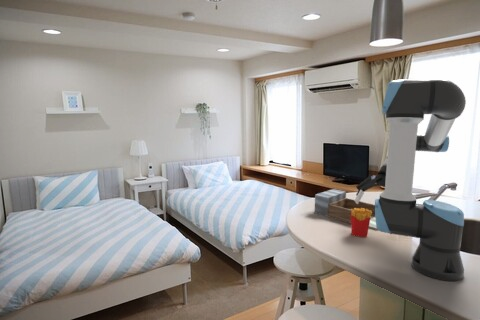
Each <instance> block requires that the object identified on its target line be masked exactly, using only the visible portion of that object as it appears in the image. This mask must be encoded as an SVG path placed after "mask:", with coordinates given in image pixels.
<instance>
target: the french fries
mask: <svg viewBox="0 0 480 320" xmlns="http://www.w3.org/2000/svg"><path fill="white" fill-rule="evenodd" d="M371 214H372V211H371V210H367V209H366V212H365V208H361V209H359V208H357V209H356V208H354V211H353V209H351V223H350V227H351V228H350V229H351V236H354V237H358V236H359V237H360V238H367V237H368V234H369V233H368V232H369V229H370V228H369V223H370V218H371V217H370V216H371Z"/></svg>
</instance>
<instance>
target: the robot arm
mask: <svg viewBox="0 0 480 320" xmlns="http://www.w3.org/2000/svg"><path fill="white" fill-rule="evenodd" d="M382 104H383V105H382V109H381V114H383V115H385V120H386V121H387V122H388V123H389V132H388V133H389V134H388V147H387V155H386V157H385V159H384V161H383V162H382V164H381V167H379V170H378V172H377V174H376V175H374V174H373V173H370V174H369V175H368V177H366V178H364V180H363V181H361V182H360V183H359V184H357V185H356V186H355V187H356V189H357V192H356V196H355V199H353V200H354V201H355V203H356V204H358V203H359V201H361V199H362V198H363V196H364V194H365V193H364V192H366V191H368V190H370V189H372V188H374V187H378V186H379V187H382V188H384V190H383V192H381V193H380V194H379V198H376V199H375V200H374V205H375V218H376V227H377V229H378V230H377V231H378V232H381V233H385V234H386V233H387V234H389V235H397V236H403V237H409V238H417V239H419V244H418V246H417V247H416V250H415V251H414V254H413V255H412V257H411V266H412V267H413V269H415V271H416V272H418V273H420V274H423V275H425V276H427V277H429V278H432V279H435V280H439V281H440V280H441V281H446V282H447V281H448V282H449V281H450V282H454V281H455V282H456V281H460V280H462V279H463V278H464V275H465V266H464V263H463V260H462V256H461V252H460V251H461V246H462V238H463V231H464V230H463V229H464V226H465V214H464V211H463V210H462V209H460V208H459V207H458V206H455V205H454V204H451V203H448V202H442V201H439V200H435V199H426V200H424V201H423V202H422V203H421V204H419V203H417V198H416V197H415V195H414V194H413V187H414V186H413V183H414V172H415V163H416V161H415V160H416V152H430V153H446V152H447V151H448V150H449V146H450V137H449V133H450V131H451V128H452V127H453V125H454V123H455V120H456V119H458V118H459V117H460V116H461V115H462V114H463V112H464V110H465V108H466V104H467V101H466V96H465V94H464V91H462V89H461V88H460V86H458V85H457V84H456V83H454V82H453V81H450V80H448V79H446V78H439V77H438V78H416V79H415V78H414V79H413V78H411V79H410V78H409V79H408V78H407V79H406V78H403V79H397V80H396V79H395V80H391V81H390V82H388V83H387V87H386V90H385V95H384V100H383V103H382ZM425 115H430V118H429V121H428V125H427V127H426V129H425V130H426V131H425V133H418V127H419V124H421V123H422V121H424V117H425Z"/></svg>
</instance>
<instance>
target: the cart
mask: <svg viewBox="0 0 480 320" xmlns="http://www.w3.org/2000/svg"><path fill="white" fill-rule="evenodd" d="M354 200H355V199H351V198H347V191H344V190H339V189H334V188H332V189H329V190H325V191H323V192H318V193H316V194H315V196H314V213H315V214H318V215H321V216H324V217H325V216H326V217H328V218H332V219H334V220H335V219H336V220H339V221H342V222H345V223H349V224H351V209H353V211H354V208H356V209H357V208H359V209H361V208H365V212H366V209H367V210H371V211H372V214H371V216H370V217H371V218H370V223H369V228H368V229H370V230H373V231H374V230H375V231H379V230H378V229H377V227H376V218H375V203H371V202H370V203H369V202H364V201H361V200H360V201H359V203H358V204H356V203H355V201H354Z"/></svg>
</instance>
